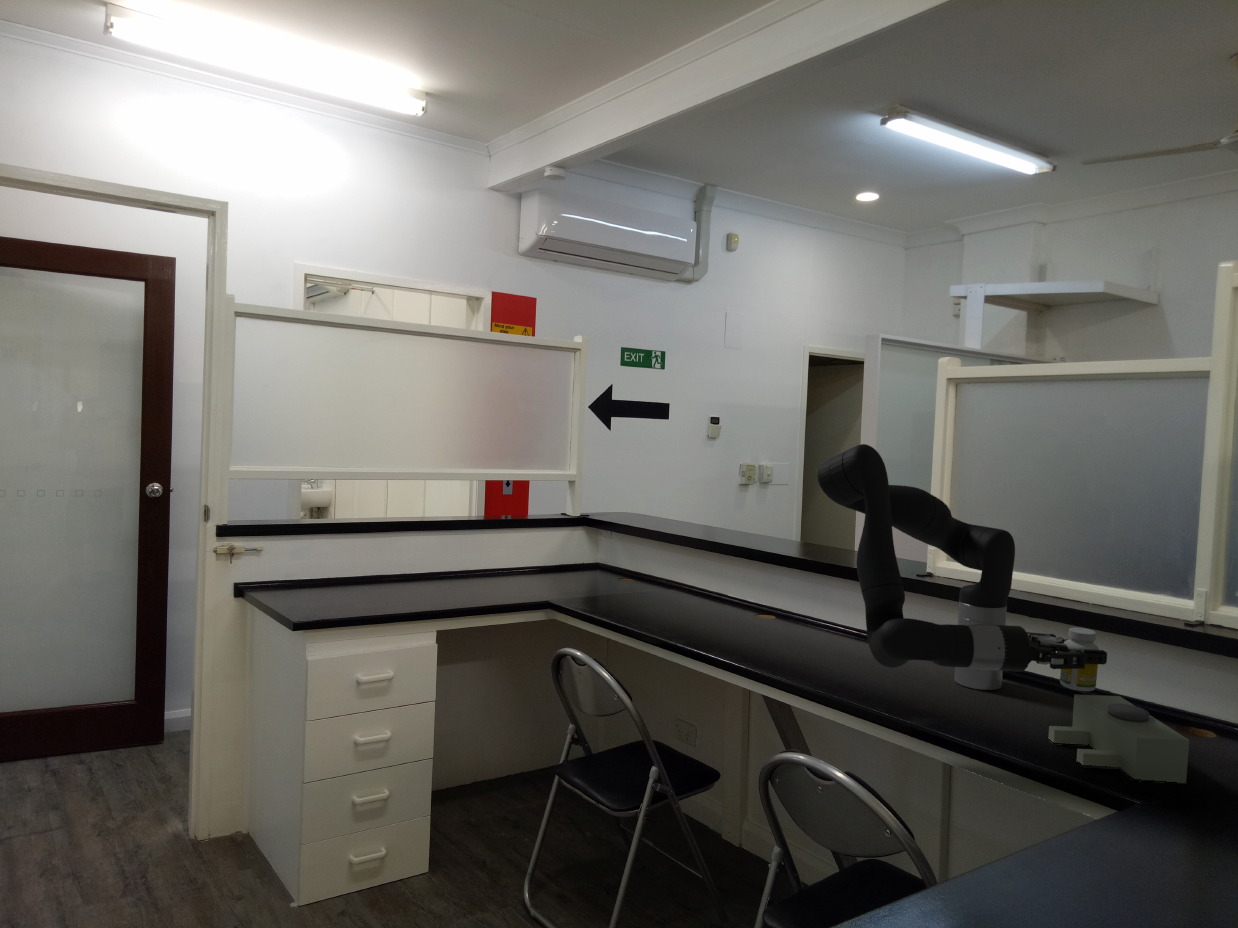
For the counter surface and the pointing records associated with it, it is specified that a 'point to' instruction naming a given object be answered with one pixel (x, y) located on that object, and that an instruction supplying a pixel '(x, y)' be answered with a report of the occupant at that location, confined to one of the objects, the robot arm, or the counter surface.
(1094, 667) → the supplement bottle
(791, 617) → the counter surface
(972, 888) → the counter surface
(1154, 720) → the olive footed block
